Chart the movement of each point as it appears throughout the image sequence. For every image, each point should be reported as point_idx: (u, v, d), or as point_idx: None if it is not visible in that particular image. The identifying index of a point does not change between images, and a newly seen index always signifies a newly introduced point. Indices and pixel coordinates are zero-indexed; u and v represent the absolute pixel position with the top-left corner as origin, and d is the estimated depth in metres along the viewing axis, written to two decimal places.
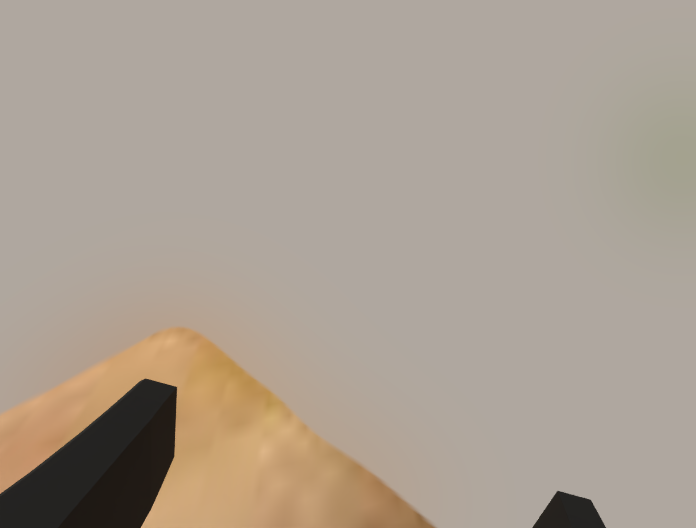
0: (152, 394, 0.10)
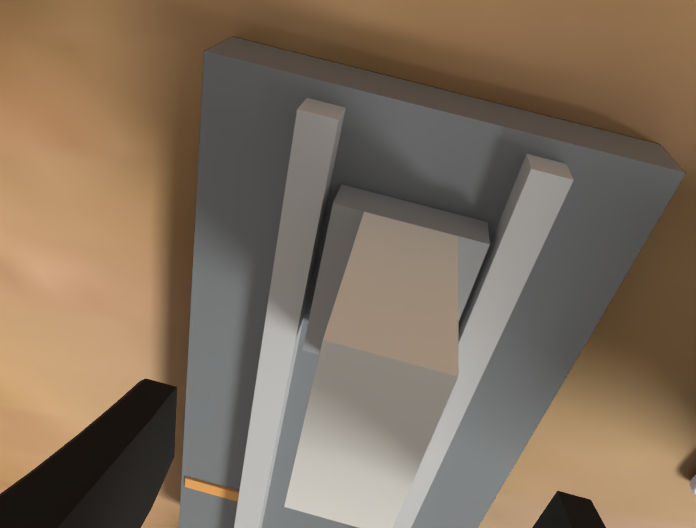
0: (152, 394, 0.10)
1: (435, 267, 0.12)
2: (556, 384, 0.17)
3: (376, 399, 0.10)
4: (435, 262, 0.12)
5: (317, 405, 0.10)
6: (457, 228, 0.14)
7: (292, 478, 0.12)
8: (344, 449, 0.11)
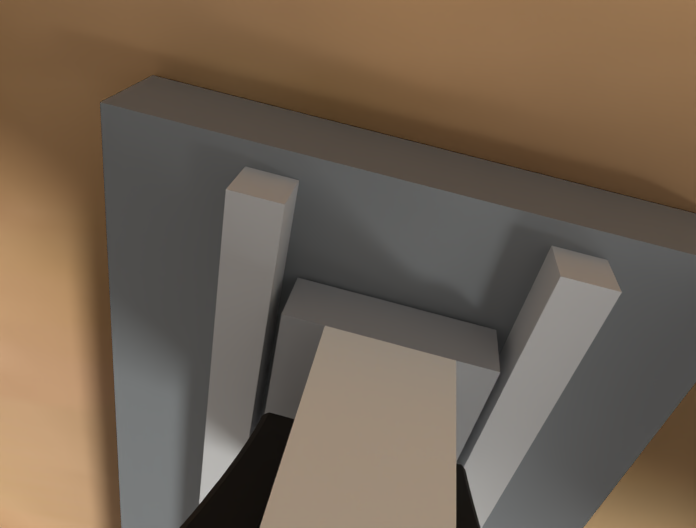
0: (280, 429, 0.09)
1: (422, 427, 0.08)
2: (583, 517, 0.13)
3: None
4: (422, 417, 0.09)
5: None
6: (455, 346, 0.10)
7: None
8: None
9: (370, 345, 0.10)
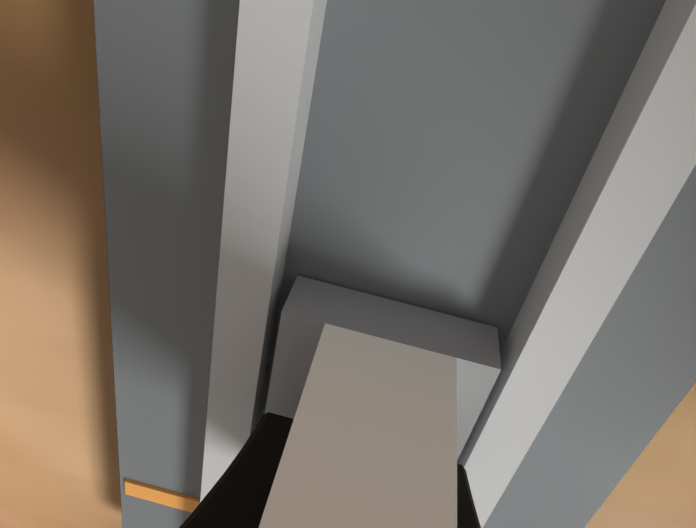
0: (280, 428, 0.09)
1: (423, 425, 0.08)
2: None
3: None
4: (423, 414, 0.08)
5: None
6: (455, 343, 0.10)
7: None
8: None
9: (370, 342, 0.10)
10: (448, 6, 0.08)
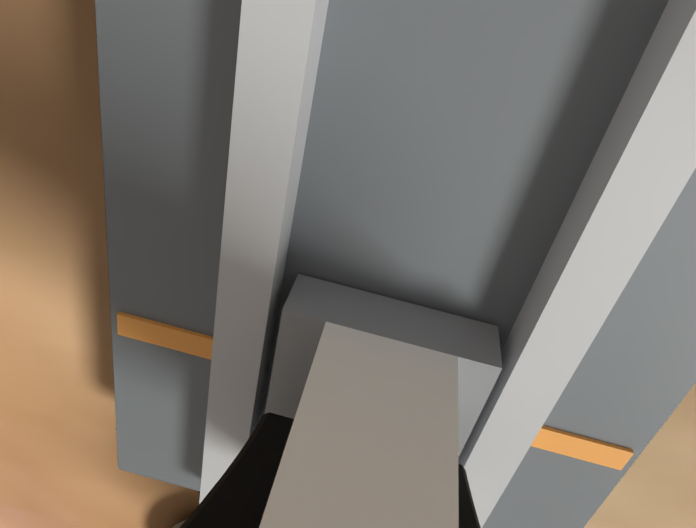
0: (281, 428, 0.09)
1: (424, 423, 0.08)
2: None
3: None
4: (424, 413, 0.08)
5: None
6: (456, 342, 0.10)
7: None
8: None
9: (371, 341, 0.10)
10: None
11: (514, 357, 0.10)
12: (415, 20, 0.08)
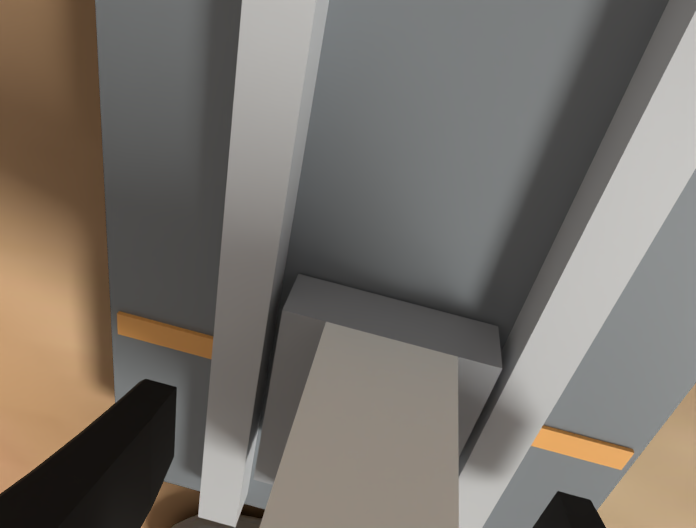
0: (152, 394, 0.10)
1: (424, 423, 0.08)
2: None
3: None
4: (425, 413, 0.08)
5: None
6: (457, 342, 0.10)
7: None
8: None
9: (372, 341, 0.10)
10: None
11: (515, 357, 0.10)
12: (415, 19, 0.08)
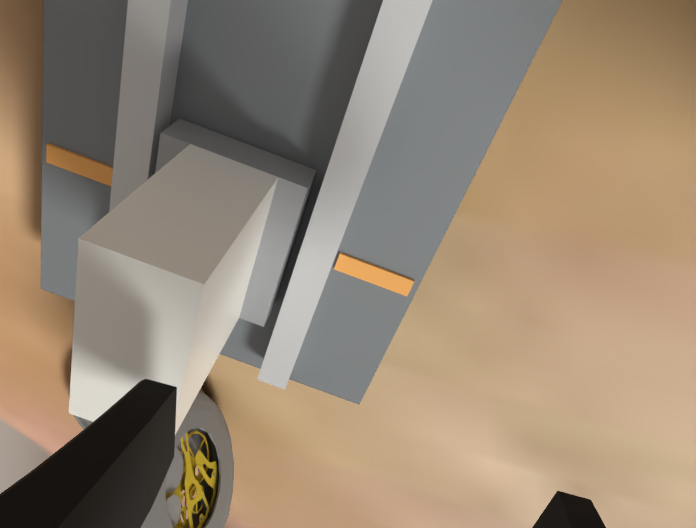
0: (152, 394, 0.10)
1: (237, 198, 0.13)
2: None
3: (135, 304, 0.11)
4: (240, 194, 0.13)
5: (82, 306, 0.11)
6: (281, 171, 0.15)
7: (72, 383, 0.12)
8: (115, 355, 0.11)
9: (219, 158, 0.14)
10: None
11: (321, 187, 0.15)
12: None
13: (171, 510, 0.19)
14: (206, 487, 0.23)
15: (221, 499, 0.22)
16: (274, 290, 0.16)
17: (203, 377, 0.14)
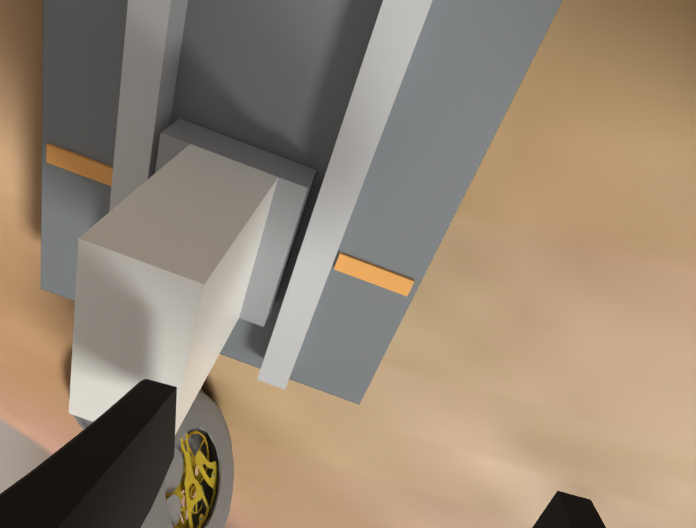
0: (152, 394, 0.10)
1: (237, 198, 0.13)
2: None
3: (135, 304, 0.11)
4: (240, 194, 0.13)
5: (82, 306, 0.11)
6: (281, 171, 0.15)
7: (72, 383, 0.12)
8: (115, 355, 0.11)
9: (219, 158, 0.14)
10: None
11: (321, 187, 0.15)
12: None
13: (171, 510, 0.19)
14: (206, 487, 0.23)
15: (221, 499, 0.22)
16: (274, 290, 0.16)
17: (203, 377, 0.14)
